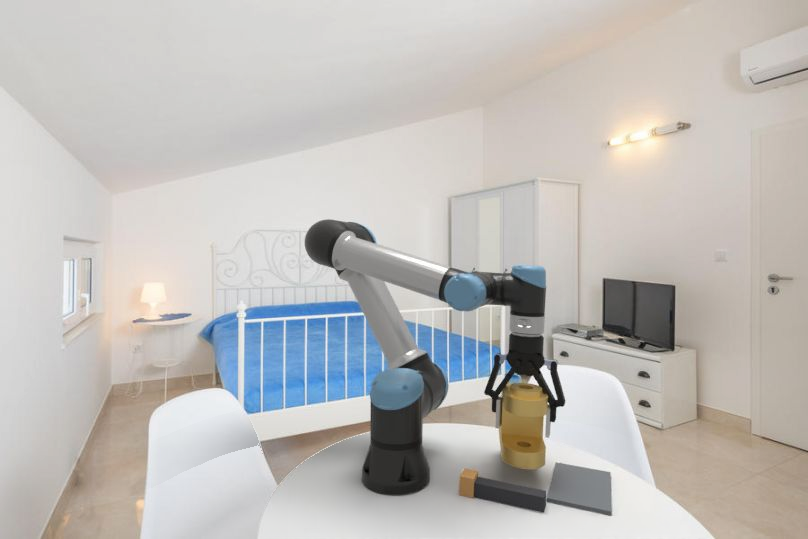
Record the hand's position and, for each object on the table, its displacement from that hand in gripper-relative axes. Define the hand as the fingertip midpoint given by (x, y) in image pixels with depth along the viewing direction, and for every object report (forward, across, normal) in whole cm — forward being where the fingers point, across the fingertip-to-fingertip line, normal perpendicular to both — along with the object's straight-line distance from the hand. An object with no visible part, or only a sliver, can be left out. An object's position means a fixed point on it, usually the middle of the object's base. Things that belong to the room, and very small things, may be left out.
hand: (522, 430), depth 104 cm
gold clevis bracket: (+5, 0, +2) cm, 5 cm away
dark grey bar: (+10, -2, -12) cm, 16 cm away
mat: (+10, +13, 0) cm, 16 cm away
